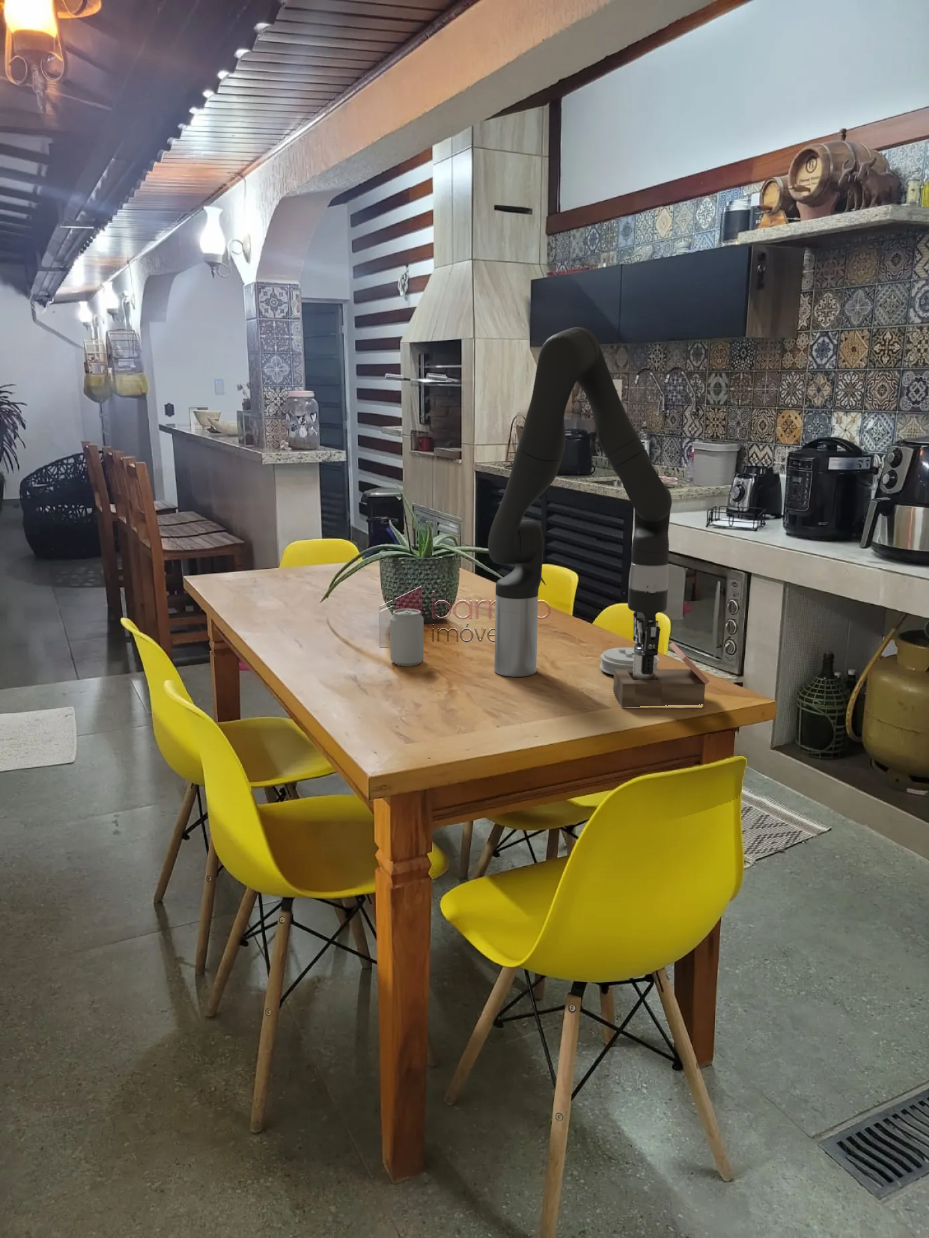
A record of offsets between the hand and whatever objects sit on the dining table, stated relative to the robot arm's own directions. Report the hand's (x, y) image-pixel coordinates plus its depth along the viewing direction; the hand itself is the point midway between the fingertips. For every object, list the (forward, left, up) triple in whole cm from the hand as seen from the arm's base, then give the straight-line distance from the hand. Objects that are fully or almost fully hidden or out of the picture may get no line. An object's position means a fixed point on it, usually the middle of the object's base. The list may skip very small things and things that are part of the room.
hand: (643, 669), depth 190 cm
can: (-27, -48, -7) cm, 55 cm away
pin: (0, 0, -6) cm, 6 cm away
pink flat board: (0, +9, +1) cm, 9 cm away
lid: (-20, +1, -7) cm, 21 cm away
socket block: (0, +3, -6) cm, 7 cm away
